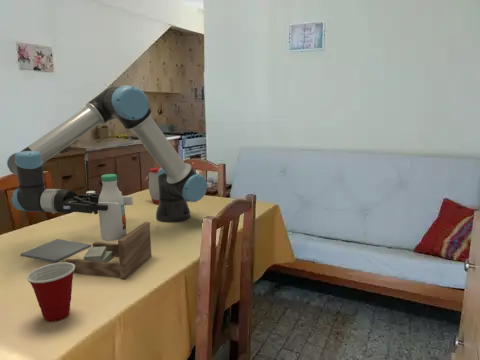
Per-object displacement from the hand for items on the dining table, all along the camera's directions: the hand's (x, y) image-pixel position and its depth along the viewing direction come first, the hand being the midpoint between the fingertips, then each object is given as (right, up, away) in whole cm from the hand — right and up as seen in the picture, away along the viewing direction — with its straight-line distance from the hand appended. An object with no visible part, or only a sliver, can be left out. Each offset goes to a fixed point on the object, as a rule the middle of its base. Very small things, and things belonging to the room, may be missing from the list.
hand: (125, 204), depth 124 cm
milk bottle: (-5, -11, +3) cm, 12 cm away
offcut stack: (-11, -20, +8) cm, 24 cm away
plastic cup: (-10, -26, -25) cm, 37 cm away
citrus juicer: (-5, -4, +85) cm, 85 cm away
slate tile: (-29, -18, +18) cm, 38 cm away
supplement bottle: (-35, -8, +67) cm, 76 cm away
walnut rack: (-7, -20, +6) cm, 22 cm away
